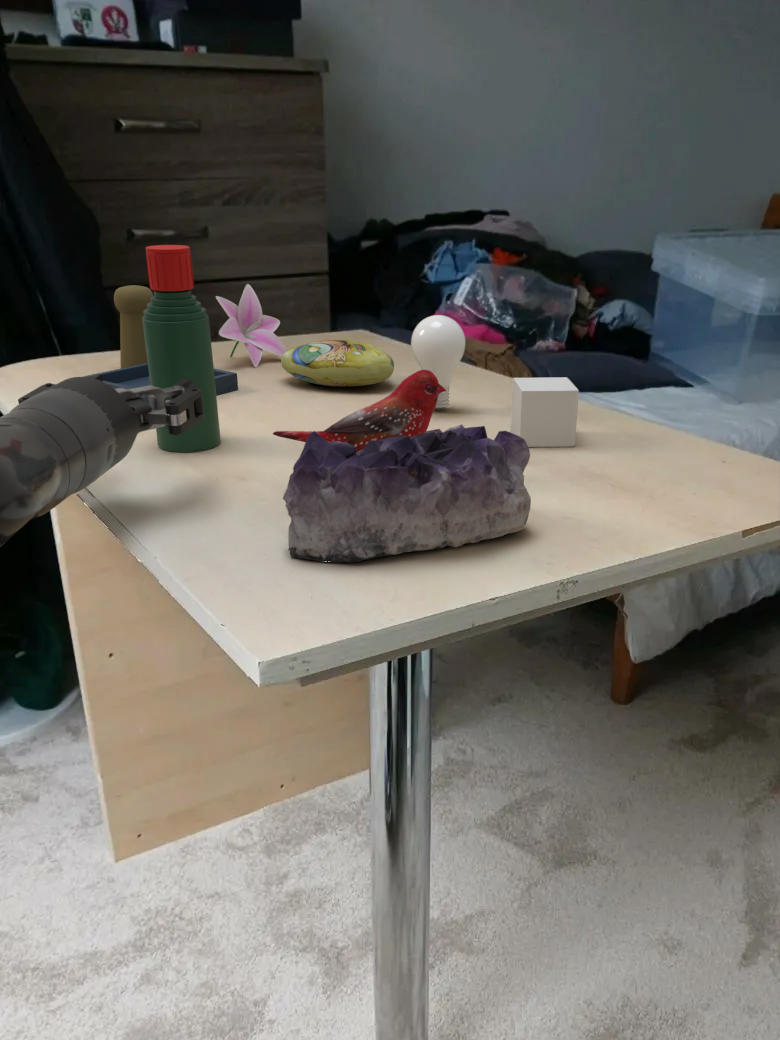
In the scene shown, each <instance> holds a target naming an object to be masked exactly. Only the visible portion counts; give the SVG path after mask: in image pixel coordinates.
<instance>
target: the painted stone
mask: <svg viewBox="0 0 780 1040" xmlns="http://www.w3.org/2000/svg"><path fill="white" fill-rule="evenodd" d="M286 350H287V349H286ZM280 363H281V366H282V369H283V370H284V371H285V372H286V373H287V374H289V375H291V376H292V377H294V378H296V379H298V380H300V381H303V382H306V383H311V384H315V385H321V386H328V387H339V388H340V387H341V388H343V387H344V388H346V387H349V388H351V387H362V386H370V385H375V384H379V383H382V382H384V381H386V380H388V379H389V378H390V377H391V376H393V373H394V370H395V363H394V359H393V358H392V356H390V354H388V353H387V352H386V351H385V350H383V349H382V348H380V347H378V346H377V345H374V344H370V343H367V342H362V341H357V340H351V339H350V340H349V339H326V340H318V341H313V342H308V343H303V344H301V345H297V346H293V347H292V348H289V349H288V350H287V351H286V352H285V353H283V355H282V356H281V357H280Z"/></svg>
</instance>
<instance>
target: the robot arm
mask: <svg viewBox="0 0 780 1040" xmlns="http://www.w3.org/2000/svg"><path fill="white" fill-rule="evenodd" d="M91 375H92V374H91ZM143 396H148V398H149V404H148V403H146V402H145V401H144V400H143V399H142V398H140V397H143ZM170 396H171V400H166V401H165V406H164V399H165V398H166V397H170ZM17 401H18V402H17V403H18V404H17V405H16V406H14V407H13V408H12V409H11V410H10V411H9V412H8V413H6V414H3V415H2V416H0V548H2V547H3V546H4V545H5V544H6V543H7V542H9V541H10V539H11V538H12V537H13V536H15V534H16V533H17V532H18V531H20V530H21V529H22V528H23V527H25V525H26V524H28V523H29V522H30V521H32V520H34V519H37V518H40V517H42V516H44V515H45V514H47V513H48V512H50V511H52V510H53V509H55V508H56V507H57V506H58V505H60V504H62V502H64V501H65V500H66V499H68V498H69V497H71V495H74V494H76V493H78V492H80V491H82V490H84V489H86V488H87V487H89V486H91V485H92V484H93V483H94V482H95V481H97V480H98V479H100V477H102V476H103V475H104V474H106V473H107V472H109V470H111V469H112V468H114V467H115V466H116V465H117V464H119V463H120V462H121V461H122V460H124V458H126V457H127V455H128V454H129V453H130V451H131V449H132V447H133V446H134V443H135V441H136V439H137V436H138V435H139V433H141V432H145V431H151V430H154V429H155V430H156V428H159V427H163V426H165V425H167V426H168V433H169V434H171V435H179V434H182V433H183V432H185V431H186V430H188V429H189V428H191V427H192V426H193V425H195V424H196V423H198V422H199V421H200V420H202V419H203V418H205V416H204V407H203V397H202V390H201V389H197V385H196V384H194V383H193V381H192V379H187V378H183V379H182V380H180V381H179V382H177V383H176V384H175V385H173V386H172V387H169V388H164V389H161V388H159V387H156V386H152V385H149V386H144V387H138V388H133V389H124V388H117V389H114V388H112V387H111V386H109V385H108V384H106V383H104V382H103V379H102V376H98V375H92V376H91V377H83V376H73V377H69V378H67V379H64V380H62V381H60V382H58V383H52V382H47V383H45V384H44V383H43V384H42V385H40V386H38V387H36V388H35V389H33V390H31V391H30V392H28V393H26V394H25V395H22V396H21V397H19V398H18V399H17Z"/></svg>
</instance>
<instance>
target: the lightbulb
mask: <svg viewBox="0 0 780 1040" xmlns="http://www.w3.org/2000/svg"><path fill="white" fill-rule="evenodd" d="M466 341H467V340H466V335H465V332H464V330H463V328H462V326H461V325H460V324H459V323H458V322H457V321H456V320H455V319H453V318H452V317H449V316H447V315H443V314H433V315H430V316H427V317H425V318H423V319H422V320H421V321H419V322H418V323H417V324H416V326H415V327H414V329H413V331H412V334H411V338H410V348H411V352H412V355H413V357H414V359H415V361H416V363H417V364H418V366H419V367H420V370H429V371H431V372H432V373H433V374H434V375H435V376H436V377H437V379H438V383H439V384H440V385H441V386H443V387H444V388H445V389H446V391H444V392H441V393H440V394H439V395H438V399H437V404H436V407H435V409H434V411H438V412H439V411H443V410H444V409H446V408H447V407H449V405H450V393H449V392H450V385H451V383H452V381H453V377H454V372H455V370H456V368H457V366H458V365H459V364H460V362H461V360H462V359H463V358H464V357H463V356H464V354H465V351H466V345H467V343H466Z"/></svg>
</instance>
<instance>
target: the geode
mask: <svg viewBox="0 0 780 1040" xmlns="http://www.w3.org/2000/svg"><path fill="white" fill-rule="evenodd" d="M530 458H531V452H530V447H528V445H527V443H526V441H525V439H523V438H521V437H520V436H517V435H515V434H513V433H511V431H507V430H501V431H498V432H497V434H496V436H495V438H494V439H492V438H490V437H488V433H487V429H486V426H485V425H480V426H470V427H465V426H464V425H463V424H462V423H460V424H458V425H455V426H453V427H449V428H446V430H444V431H443V430H442V429H440V428H436V429H429V430H426V432H425V433H424V434H419V435H415V436H412V437H409V436H402V435H399V436H396V437H389V438H386V439H383V440H378V441H377V442H376V441H374V440H370V441H369V442H368V443H367V444H366V446H365V447H364V448H363V450H361V451H358V452H356V447H355V446H354V445H351V444H349V443H347V442H340V441H334V442H328V441H326V440H325V439H324V438H323V437H321V436H320V435H319V434H318V433H317V432H316V430H313V432H312V433H311V434H310V435H309V436H308V438H307V439H306V442H304V445H303V448H302V450H301V453H300V455H299V456H298V459H297V460H296V461H295V463H294V464H293V468H292V472H291V474H290V475H289V480H288V482H287V486H286V489H285V491H284V493H283V496H282V500H283V501H284V502H285V508H286V510H287V514H288V516H289V517H290V522H289V525H288V533H287V535H288V539H287V540H288V549H287V550H288V551H289V556H290V557H293V558H296V559H305V560H311V561H318V562H321V561H327V562H328V561H332V562H331V563H346V564H347V563H359V562H362V561H365V560H370V559H376V558H380V557H387V556H394V555H399V554H400V555H401V554H403V553H412V552H421V551H428V550H438V549H439V550H440V549H443V548H445V547H447V546H449V547H453V548H459V547H458V546H460V547H462V546H463V545H464V544H477V543H479V542H480V541H482V540H490V539H496V538H500V537H503V536H504V535H508V534H512V533H513V534H514V533H517V532H521V531H523V530H524V529H525V526H526V524H527V522H528V520H529V515H530V510H531V505H532V504H531V502H532V500H531V495H530V493H529V491H528V489H527V488H526V486H525V475H524V472H525V469H526V468H527V466H528V464H529V461H530Z"/></svg>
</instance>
